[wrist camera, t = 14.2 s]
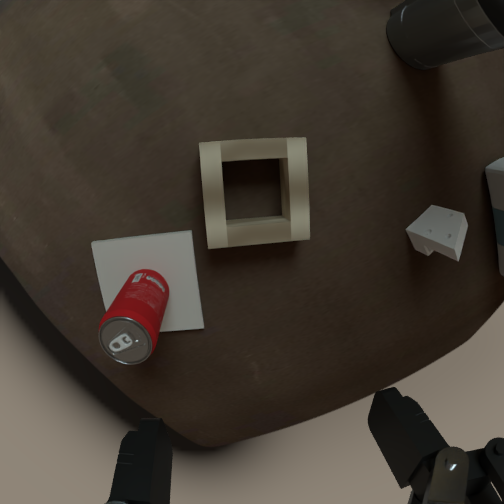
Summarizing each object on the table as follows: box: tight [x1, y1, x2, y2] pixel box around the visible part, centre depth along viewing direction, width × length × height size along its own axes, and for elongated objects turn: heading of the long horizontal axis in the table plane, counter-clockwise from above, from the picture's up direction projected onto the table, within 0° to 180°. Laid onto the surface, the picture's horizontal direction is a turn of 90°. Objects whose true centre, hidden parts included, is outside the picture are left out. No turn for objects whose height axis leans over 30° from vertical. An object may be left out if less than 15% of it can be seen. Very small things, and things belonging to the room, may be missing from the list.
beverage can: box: [99, 269, 169, 365], centre depth 28 cm, size 5×5×12 cm
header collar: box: [199, 138, 310, 249], centre depth 32 cm, size 10×10×4 cm
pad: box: [91, 230, 204, 332], centre depth 35 cm, size 12×12×1 cm
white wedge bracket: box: [405, 205, 468, 262], centre depth 34 cm, size 4×10×9 cm, turn 128°
